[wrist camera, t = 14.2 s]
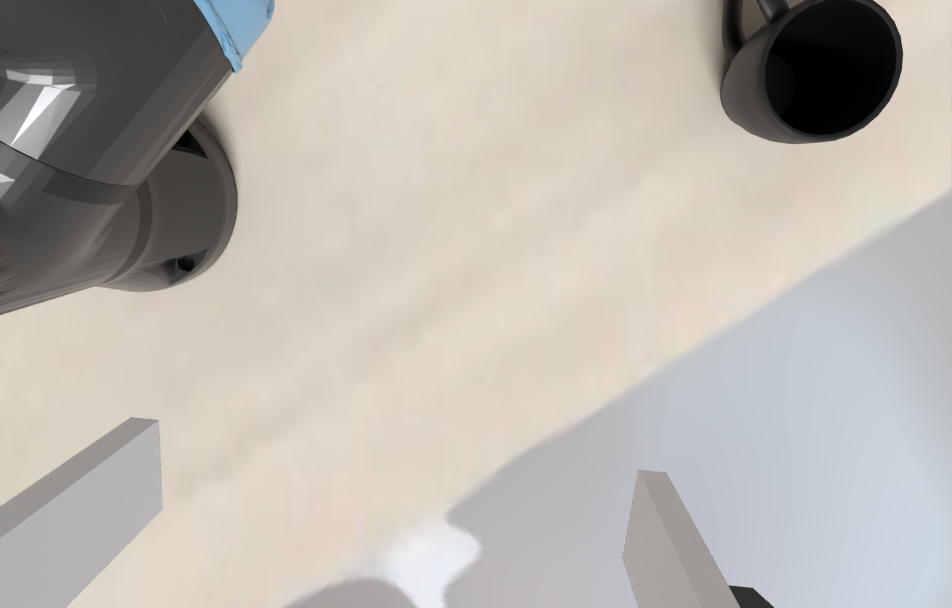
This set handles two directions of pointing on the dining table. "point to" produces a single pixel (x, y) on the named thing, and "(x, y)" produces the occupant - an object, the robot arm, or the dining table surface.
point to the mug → (810, 68)
